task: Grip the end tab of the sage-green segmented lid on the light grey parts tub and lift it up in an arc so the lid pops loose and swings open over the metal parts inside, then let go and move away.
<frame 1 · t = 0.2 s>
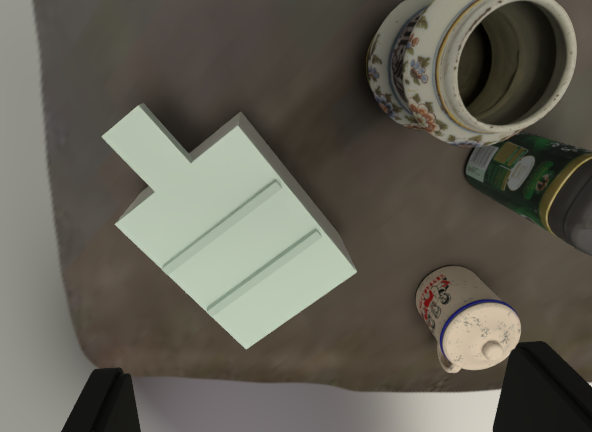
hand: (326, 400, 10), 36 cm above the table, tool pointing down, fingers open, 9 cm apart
apothecary jar: (411, 62, 43), on the table
tub: (244, 213, 47), on the table
teacup with lid: (442, 302, 54), on the table
lid: (221, 226, 37), point 9 cm above the table, hinge at 0.0°
coffee jar: (502, 163, 48), on the table
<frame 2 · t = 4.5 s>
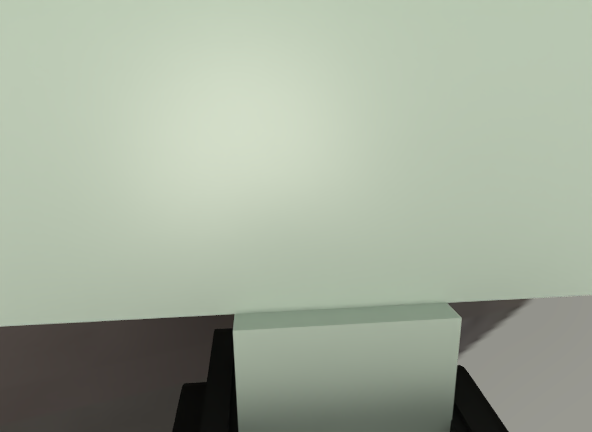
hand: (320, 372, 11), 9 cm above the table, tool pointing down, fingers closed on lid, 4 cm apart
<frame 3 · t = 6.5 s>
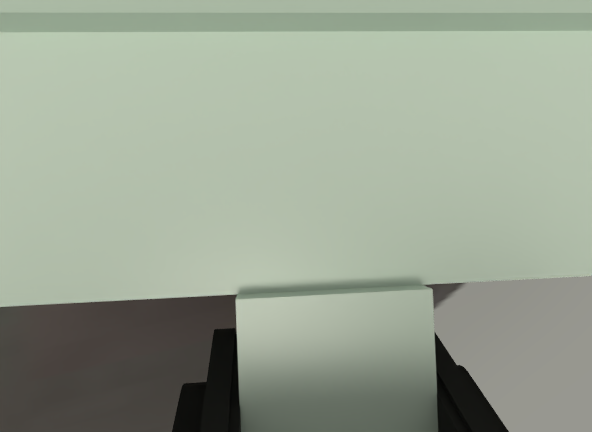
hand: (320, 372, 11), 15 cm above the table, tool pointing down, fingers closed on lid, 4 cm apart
lid: (319, 15, 9), point 14 cm above the table, hinge at 22.3°, touching gripper
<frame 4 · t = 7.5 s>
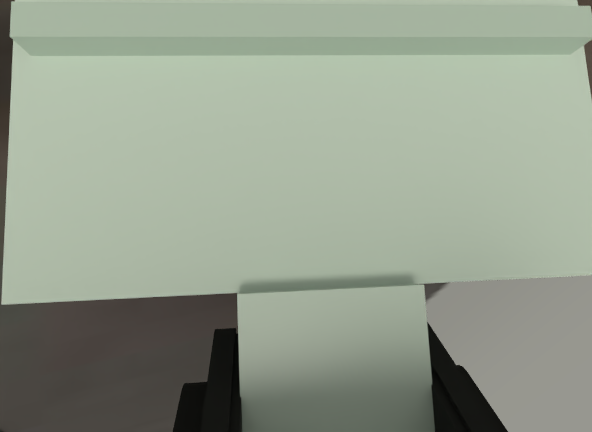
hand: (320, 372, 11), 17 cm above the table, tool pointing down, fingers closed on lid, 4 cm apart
lid: (313, 42, 10), point 15 cm above the table, hinge at 28.6°, touching gripper
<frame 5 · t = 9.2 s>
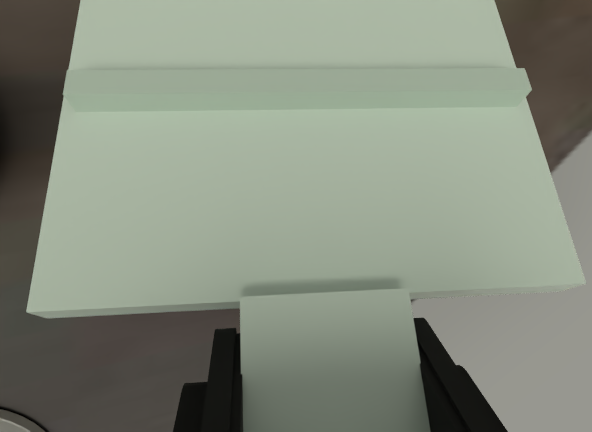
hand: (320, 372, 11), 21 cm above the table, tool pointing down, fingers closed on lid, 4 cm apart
lid: (304, 100, 13), point 17 cm above the table, hinge at 42.8°, touching gripper
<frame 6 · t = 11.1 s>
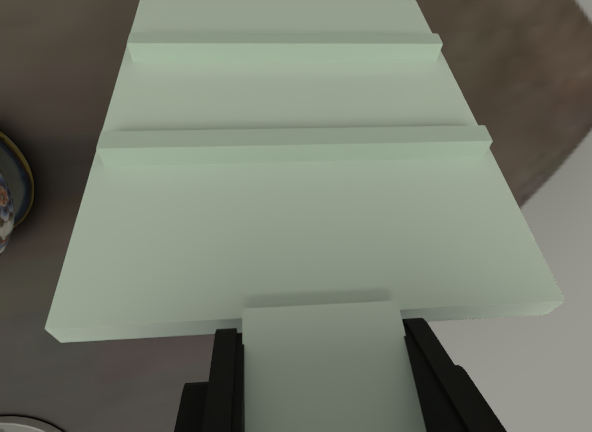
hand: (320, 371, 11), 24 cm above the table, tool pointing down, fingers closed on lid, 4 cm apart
lid: (300, 155, 15), point 19 cm above the table, hinge at 57.3°, touching gripper
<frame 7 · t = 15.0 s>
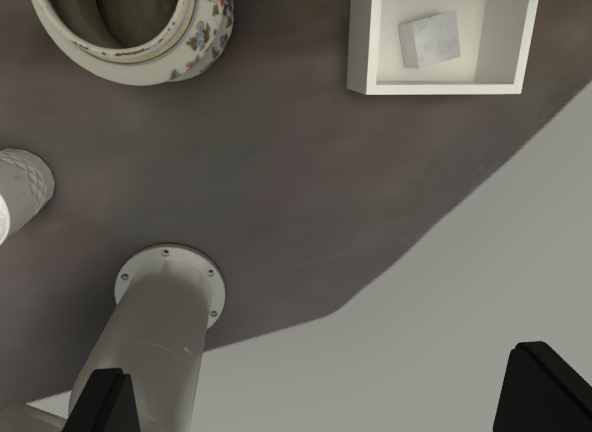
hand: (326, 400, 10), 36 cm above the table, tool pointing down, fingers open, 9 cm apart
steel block: (420, 41, 41), point 1 cm above the table, touching tub
apothecary jar: (172, 11, 39), on the table
white cup: (22, 179, 43), on the table
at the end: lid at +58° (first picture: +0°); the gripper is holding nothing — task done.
